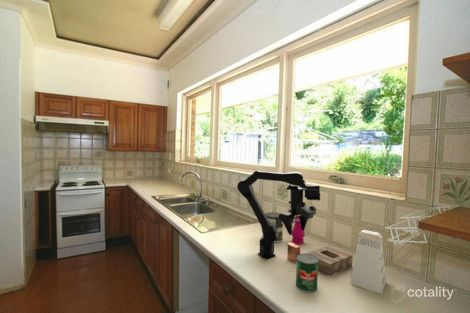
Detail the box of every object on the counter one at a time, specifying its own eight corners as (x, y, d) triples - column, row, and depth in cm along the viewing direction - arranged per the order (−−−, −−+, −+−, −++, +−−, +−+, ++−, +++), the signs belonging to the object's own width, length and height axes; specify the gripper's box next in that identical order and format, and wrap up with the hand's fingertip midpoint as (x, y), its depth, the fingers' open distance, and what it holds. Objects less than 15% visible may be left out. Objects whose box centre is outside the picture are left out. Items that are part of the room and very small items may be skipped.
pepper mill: (305, 244, 132) (306, 208, 131) (291, 243, 133) (292, 207, 132) (304, 239, 139) (305, 205, 138) (291, 238, 140) (291, 204, 139)
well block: (329, 276, 100) (330, 264, 100) (306, 263, 110) (306, 253, 110) (352, 266, 109) (352, 255, 109) (328, 255, 119) (329, 245, 119)
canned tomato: (302, 294, 88) (303, 264, 87) (291, 282, 95) (292, 254, 95) (321, 290, 90) (322, 261, 90) (309, 279, 98) (310, 252, 97)
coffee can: (281, 235, 144) (281, 212, 144) (284, 242, 134) (284, 217, 134) (263, 235, 145) (264, 211, 144) (265, 242, 134) (265, 217, 134)
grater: (357, 272, 103) (358, 226, 103) (386, 281, 97) (388, 232, 96) (350, 283, 95) (352, 232, 94) (381, 294, 89) (383, 239, 88)
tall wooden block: (295, 262, 112) (295, 247, 111) (287, 258, 116) (287, 243, 115) (299, 261, 113) (300, 246, 113) (291, 256, 117) (292, 242, 117)
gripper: (297, 205, 101) (297, 242, 102) (324, 199, 112) (323, 233, 113) (277, 200, 110) (277, 235, 111) (304, 195, 121) (303, 226, 122)
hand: (296, 232), depth 114 cm, fingers open, 9 cm apart
